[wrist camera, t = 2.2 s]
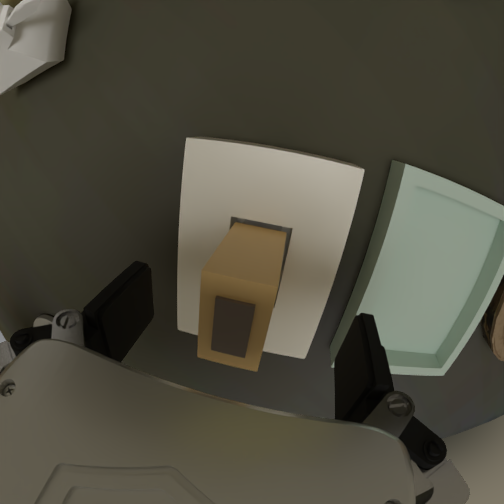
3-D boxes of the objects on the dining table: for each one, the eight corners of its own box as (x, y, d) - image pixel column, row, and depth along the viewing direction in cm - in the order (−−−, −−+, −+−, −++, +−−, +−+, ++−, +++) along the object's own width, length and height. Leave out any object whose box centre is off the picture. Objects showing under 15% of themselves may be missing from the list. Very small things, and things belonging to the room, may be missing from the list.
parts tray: (435, 358, 21) (443, 375, 19) (329, 346, 22) (331, 367, 20) (507, 208, 14) (524, 217, 12) (392, 159, 15) (405, 163, 13)
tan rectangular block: (273, 287, 20) (256, 374, 12) (232, 278, 20) (196, 359, 12) (288, 221, 17) (277, 289, 10) (242, 212, 18) (199, 272, 10)
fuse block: (305, 333, 22) (304, 358, 19) (190, 308, 23) (177, 329, 20) (354, 163, 16) (364, 169, 13) (203, 136, 17) (186, 137, 14)
